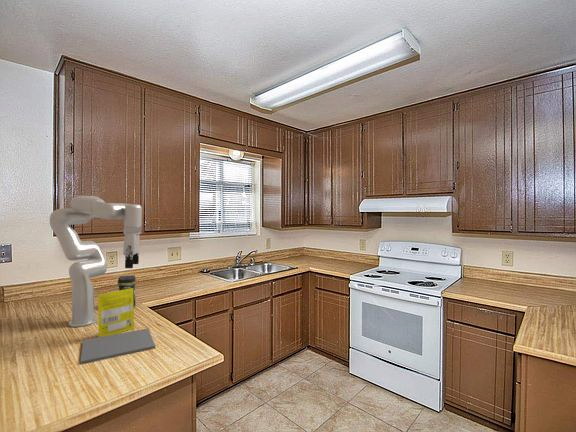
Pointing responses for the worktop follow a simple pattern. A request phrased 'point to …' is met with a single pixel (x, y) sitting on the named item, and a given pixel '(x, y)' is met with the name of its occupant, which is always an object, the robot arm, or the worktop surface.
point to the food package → (115, 312)
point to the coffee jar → (128, 284)
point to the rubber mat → (116, 345)
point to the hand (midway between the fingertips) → (132, 266)
